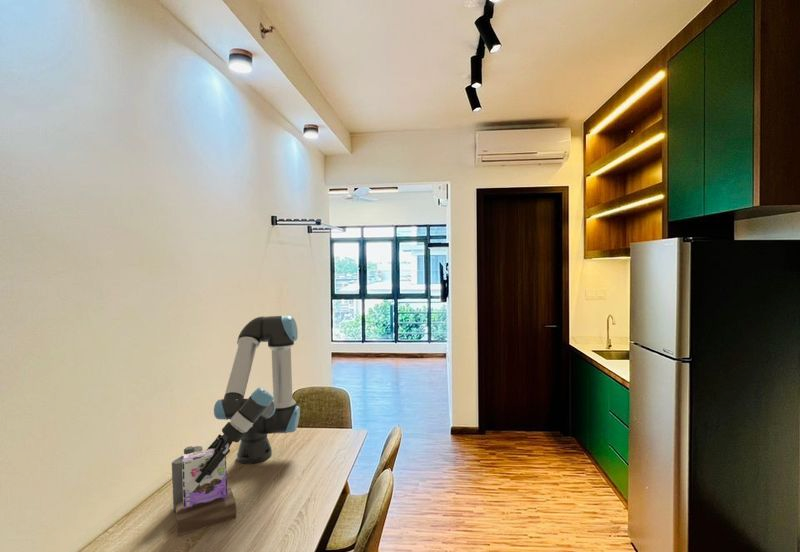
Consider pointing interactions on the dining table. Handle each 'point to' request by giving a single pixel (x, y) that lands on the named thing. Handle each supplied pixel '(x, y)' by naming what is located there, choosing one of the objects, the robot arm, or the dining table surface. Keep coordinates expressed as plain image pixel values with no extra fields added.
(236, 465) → the dining table surface
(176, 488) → the flask
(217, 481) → the candy box
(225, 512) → the walnut plinth
